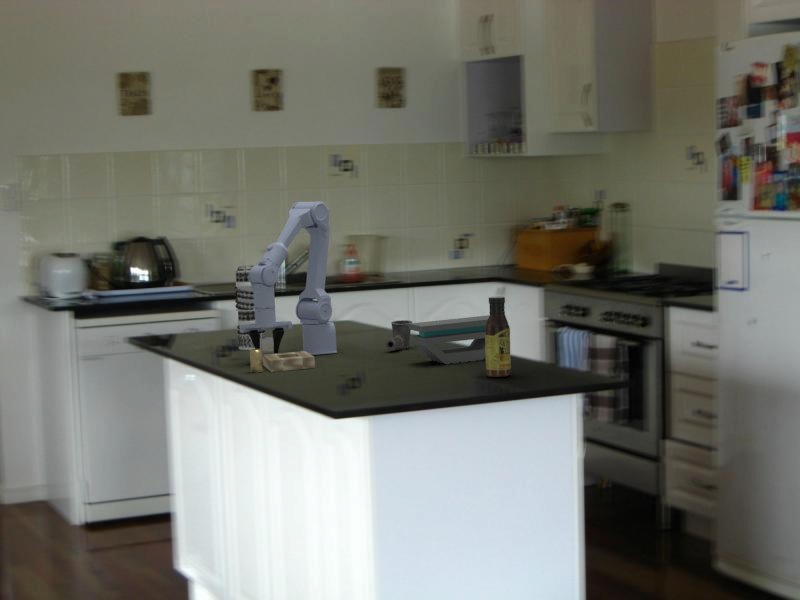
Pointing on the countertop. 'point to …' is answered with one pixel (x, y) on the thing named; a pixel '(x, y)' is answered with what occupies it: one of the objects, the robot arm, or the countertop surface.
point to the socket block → (288, 361)
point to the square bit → (266, 346)
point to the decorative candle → (245, 306)
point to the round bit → (256, 360)
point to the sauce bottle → (497, 340)
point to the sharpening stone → (451, 338)
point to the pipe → (399, 335)
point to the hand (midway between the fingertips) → (267, 356)
